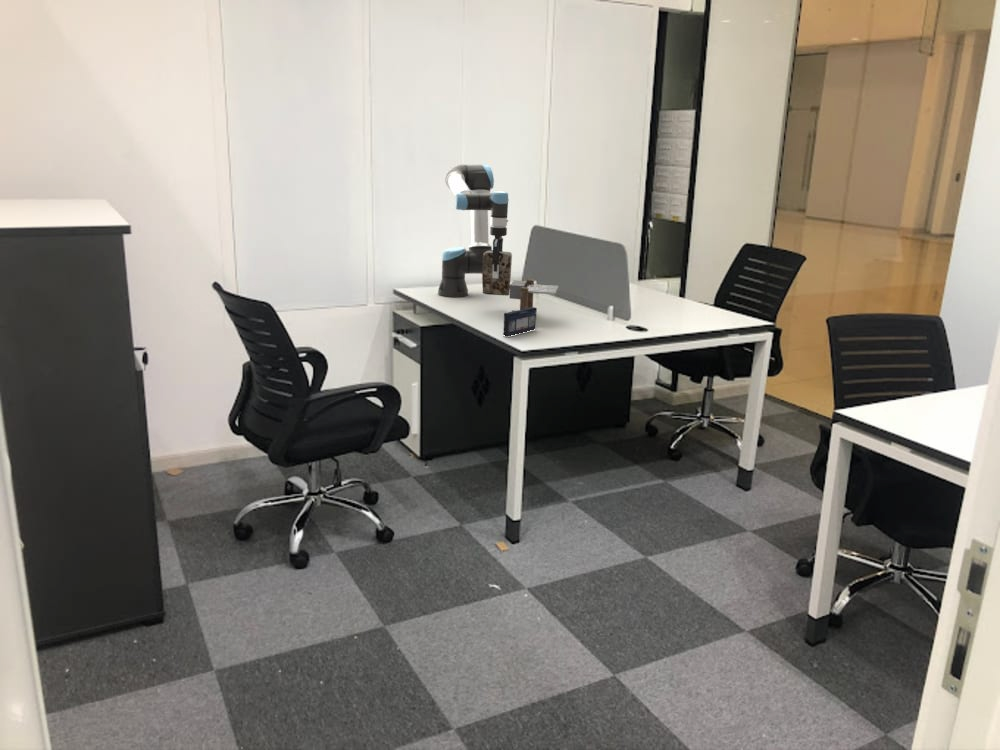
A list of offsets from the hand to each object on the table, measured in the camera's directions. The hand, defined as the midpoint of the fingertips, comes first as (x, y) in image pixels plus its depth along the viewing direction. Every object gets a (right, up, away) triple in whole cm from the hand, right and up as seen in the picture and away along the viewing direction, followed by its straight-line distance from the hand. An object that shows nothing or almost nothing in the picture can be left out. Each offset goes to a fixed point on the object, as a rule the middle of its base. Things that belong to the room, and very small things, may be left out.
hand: (496, 276), depth 370 cm
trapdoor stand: (+11, -20, -9) cm, 24 cm away
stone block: (0, -8, +3) cm, 9 cm away
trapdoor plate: (+17, -11, -13) cm, 24 cm away
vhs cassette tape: (+10, -28, -35) cm, 46 cm away
